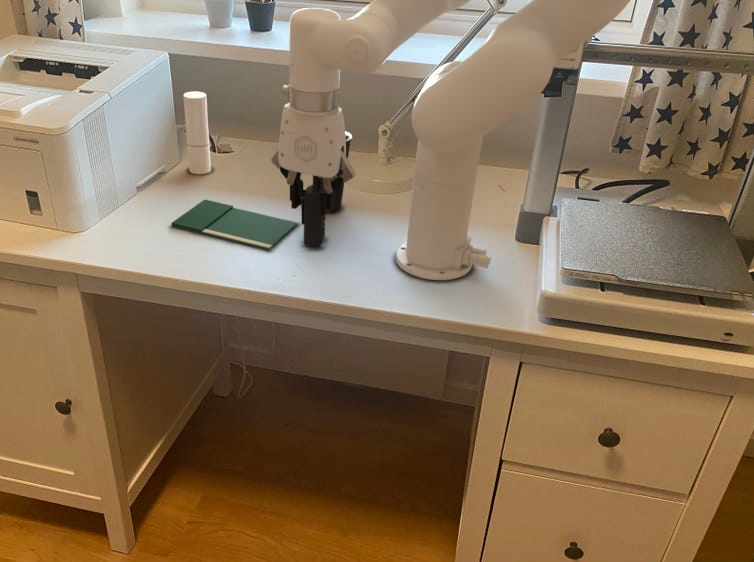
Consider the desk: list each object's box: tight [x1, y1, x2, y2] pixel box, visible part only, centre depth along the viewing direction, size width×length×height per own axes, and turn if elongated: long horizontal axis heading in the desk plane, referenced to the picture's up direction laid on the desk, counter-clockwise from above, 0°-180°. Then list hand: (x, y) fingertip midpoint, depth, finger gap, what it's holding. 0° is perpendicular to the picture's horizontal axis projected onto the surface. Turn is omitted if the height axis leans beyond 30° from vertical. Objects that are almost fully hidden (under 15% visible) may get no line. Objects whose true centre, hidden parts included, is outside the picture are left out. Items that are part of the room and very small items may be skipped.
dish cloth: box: [171, 199, 298, 251], centre depth 133 cm, size 19×11×1 cm, turn 67°
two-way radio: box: [298, 175, 327, 249], centre depth 125 cm, size 6×4×15 cm
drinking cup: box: [320, 130, 353, 214], centre depth 135 cm, size 8×8×20 cm
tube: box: [182, 90, 212, 175], centre depth 148 cm, size 4×4×15 cm
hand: (311, 207), depth 125 cm, fingers closed on two-way radio, 4 cm apart
